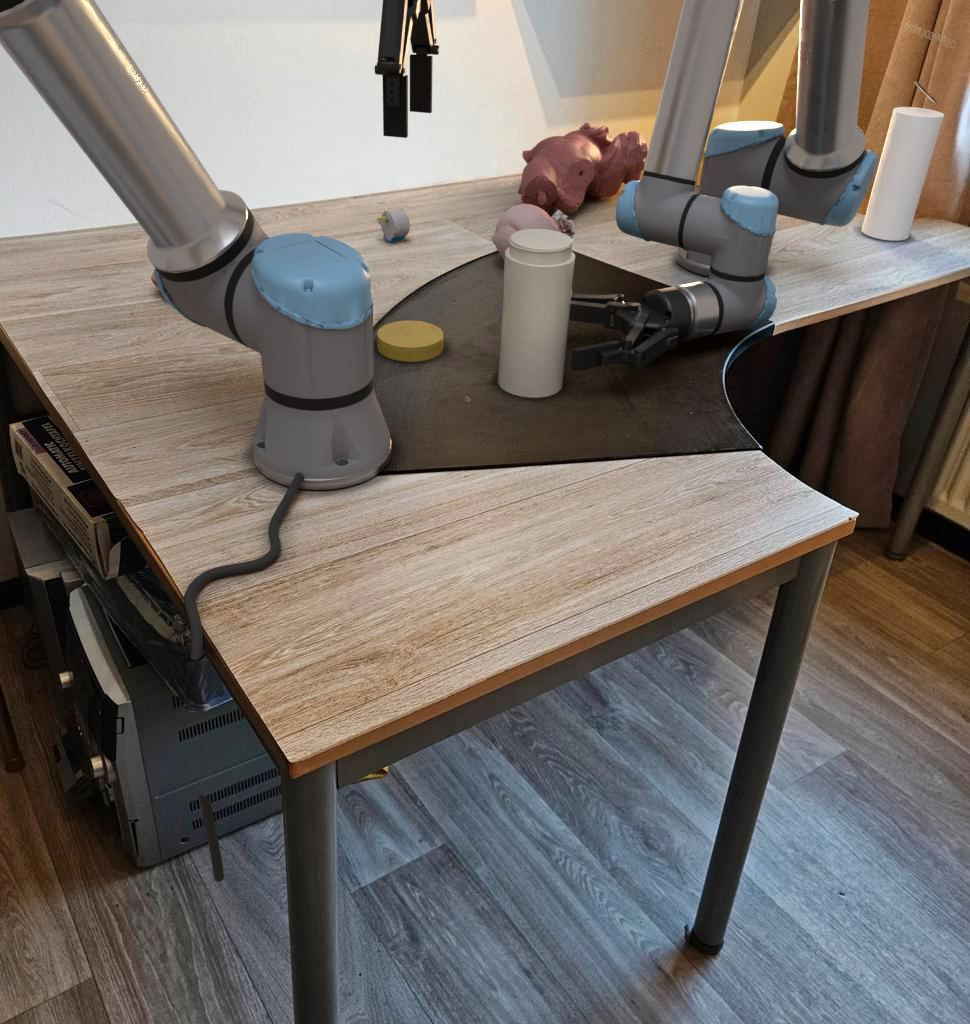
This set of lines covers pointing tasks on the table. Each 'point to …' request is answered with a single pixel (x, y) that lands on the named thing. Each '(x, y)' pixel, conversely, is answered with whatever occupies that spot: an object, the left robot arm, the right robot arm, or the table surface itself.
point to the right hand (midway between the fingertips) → (544, 339)
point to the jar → (535, 312)
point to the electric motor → (394, 225)
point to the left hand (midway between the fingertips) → (408, 123)
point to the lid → (410, 341)
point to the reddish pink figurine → (580, 167)
